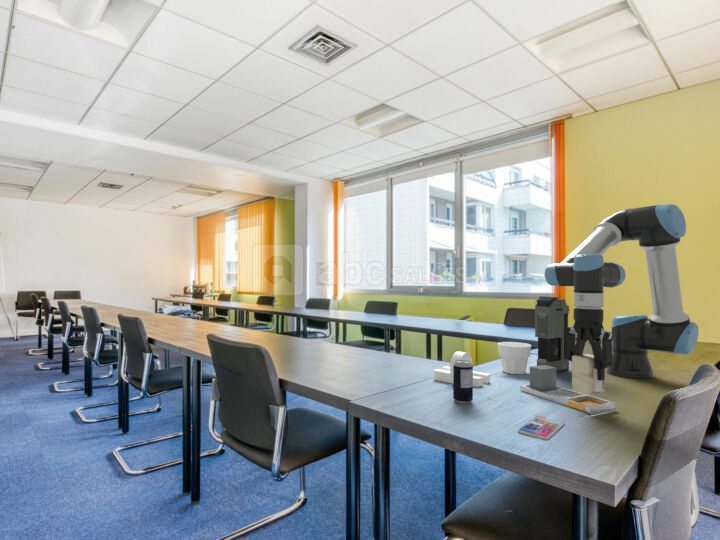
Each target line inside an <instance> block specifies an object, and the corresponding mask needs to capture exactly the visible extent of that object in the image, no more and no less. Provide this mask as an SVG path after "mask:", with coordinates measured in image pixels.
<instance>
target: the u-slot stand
mask: <svg viewBox="0 0 720 540" xmlns="http://www.w3.org/2000/svg"><path fill="white" fill-rule="evenodd" d="M456 360H467V361H471V362H472V363H471V364H472V365H473V359H472V355H471V354H470V353H469V352H464V351H460V350H459V351H458V350H457V351H455V352H454V353H453V355H452V357H451V359H450V363H449V366H447V365H445V366H443V367H441V368H435V369H433V380H435V381H439V382H444V383H449V384H452V385H453V365H454V363H455V361H456ZM490 383H491V374H490V373H487V372H481V371H475V370H473V387H476V388H479V387H480V388H481V387H482V386H483V385H484V384H490Z"/></svg>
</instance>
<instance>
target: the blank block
mask: <svg viewBox="0 0 720 540" xmlns="http://www.w3.org/2000/svg"><path fill="white" fill-rule="evenodd" d="M529 384H530V388H532V389H536V390H539V391H548V390H555V389H556V386H557V374H556V368H555V367H551V366H547V365H539V366H537V365H533V366H529Z"/></svg>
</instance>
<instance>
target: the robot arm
mask: <svg viewBox="0 0 720 540" xmlns="http://www.w3.org/2000/svg"><path fill="white" fill-rule="evenodd" d="M686 228H687V221H686V218H685V216H684V212H683V211H682V210H681V208H680V207H679V206H677V205H676V204H672V203H668V204H666V203H665V204H656V205H648V206H647V205H646V206H642V207H641V206H640V207H634V208H626V209H622V210H620V211H617V212H614V213H613V214H611V215H609V216H607V217H606V218H604V219H603V220H602V221H600V222H599V223H598V224H597V225H596V226H594V228H593V231H592V233H591V234H590V235H588V237H587V238H585V240H583V241H582V242H581V244H579V245H577V247H576V248H575V249H574V250H573V251H571V253H569V254H568V255H566V257H565V258H564V259H562V260H561V261H560V262H559V263H557V262H555V263H549V264H547V265H546V267H545V269H544V278H545V282H546V283H547V284H548V285H549V286H555V287H573V306H574V307H575V308H573V320H574V324H573V325H572V326H567V327H565V331H566V335H567V340H566V359H567V360H569V362H571V363H572V356H575V355H584V352H585V351H584V350H585V347H586V343H587V342H588V344H589V345H591V351H592V355H593V356H594V360H595V364H596V367H595V368H593V392H600V391H602V380H604V381H605V379H606V376H605V375H606V374H605V373H606V372H607V373H608V374H610V375H613V376H616V377H623V378H630V379H637V380H638V379H641V380H644V379H645V380H646V379H647V380H648V379H653V378H654V370H653V366H652V364H651V362H650V359H649V357H648V356H649V355H648V351H653V352H661V353H666V354H667V353H669V354H673V355H689V354H691V353H692V352H693V351H694V350H695V348H696V345H697V343H698V339H699V326H698V324H697V323H696V322H693V321H691V319H690V315H689V314H688V313H687V312H685V311H684V307H683V299H682V290H681V282H680V274H679V268H678V267H679V265H678V259H677V258H678V257H677V251H676V247H677V245H678V244H680V243H681V238H682V237H684V236H685V235H686V233H687V229H686ZM626 241H638V244H639V247H640V248H642V249H643V250H644V251H645V256H646V257H645V258H646V265H647V272H648V273H647V274H648V281H649V289H650V296H651V302H652V303H651V304H652V311H653V313H651V315H649V317H648V314H635V315H631V314H630V315H629V314H628V315H616V316H614V317H613V318H612V321H611V331H608V330H606V329H605V327H604V325H603V322H604V309H602V308H603V307H604V288H614V287H615V288H616V287H619V286H620V285H622V284H623V283H624V282H625V280H626V270H625V268H624V267H623V266H622V265H620V264H619V263H615V262H613V261H610V262H604V261H605V260H604V256H603V255H604V254H605V253H606V252H607V251H608V250H609V249H610V248H611V247H614V246H616V245H618V244H619V243H620V242H626ZM601 338H602V339H601Z"/></svg>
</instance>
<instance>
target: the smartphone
mask: <svg viewBox="0 0 720 540" xmlns="http://www.w3.org/2000/svg"><path fill="white" fill-rule="evenodd" d="M547 418H548V417H547V416H543V415H535V416H534V417H532V418H531V419H530V420H528V422H525V423H524V424H523V425H522V426H521V427H519V428H517V434H521V435H524V436H528V437H532V438H536V439H538V440H539V439H540V440H541V441H542V440H544V441H549V440H551V439H552V438H553V437H554V436H555V435H556V433H558V432H559V431H560V430H561V429H562V428H563V427H565V425H566V423H565V421H563V420H560V419H559V420H558V419H557V420H554V421H552V420H550V419H547Z"/></svg>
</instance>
